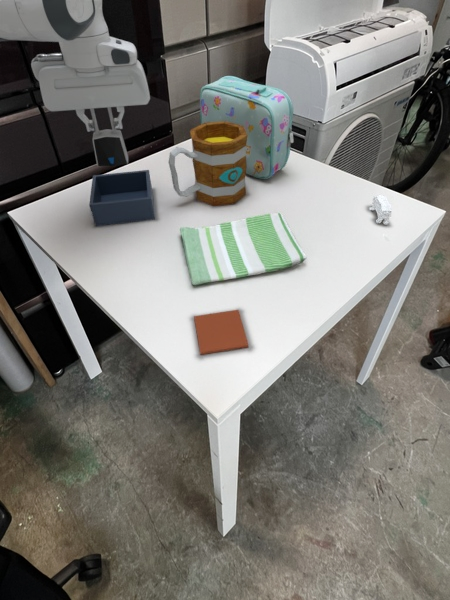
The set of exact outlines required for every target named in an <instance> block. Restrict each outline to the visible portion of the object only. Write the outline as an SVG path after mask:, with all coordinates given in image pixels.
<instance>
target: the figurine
mask: <svg viewBox="0 0 450 600" xmlns="http://www.w3.org/2000/svg"><path fill="white" fill-rule="evenodd" d="M368 209H369V211H375V212H376V213H377V219H375V223H376V224H380V223H382V224H383V225H384V226H385V225H388V224H389V222H390V218H391V217H392V207H391V203H390V202H389V201H388V199H387V196H386V195H376V196H373V199H372V206H369V208H368Z"/></svg>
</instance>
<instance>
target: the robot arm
mask: <svg viewBox="0 0 450 600" xmlns="http://www.w3.org/2000/svg"><path fill="white" fill-rule="evenodd" d="M15 41H23V42H42V43H43V42H50V43H51V42H52V43H58V44H59V47H60V52H54V53H53V52H52V53H47V54H46V53H39V54H36V56H35V57H34V58H32V60H31V63H30V65H31V70H32V73H33V75H34V77H35V79H36V80H37V81H38V83H39V88H40V95H41V98H42V102H43V105H44V107H45V108H46V109H47V110H48V111H50V112H64V111H65V112H66V111H75V113H76V116H77V117H78V118H79V119H80V121H82V122H83V124H85V127H86V131H87V132H89V133H90V132H95V127H94V123H93V119H89V118H88V116H87V115H86V114H85V111H86V110H90V109H92V108H94V109H103V108H104V109H105V108H106V109H107V107H111V108H116V113H117V112H118V116H117V117H113V119H114V125H115V129H116V130H123V129H124V128H123V126H124V125H123V121H122V120H123V118H124V115H125V112H126V111H125V110H126V108H125V107H128V106H129V107H130V106H146V105H148V104H149V103H150V100H151V95H150V93H151V92H150V88H149V84H148V79H147V76H146V73H145V70H144V69H145V68H144V67H143V64H142V63H141V62H140V61H139V60H138V51H137V48H136V46H135V44H134V43H132V42H130V41H126V40H123V39H119V38H117V37H114V36H110V33H109V28H108V25H107V22H106V20H105V17H104V13H103V0H0V42H15Z"/></svg>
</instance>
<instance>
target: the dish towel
mask: <svg viewBox="0 0 450 600" xmlns="http://www.w3.org/2000/svg"><path fill="white" fill-rule="evenodd" d="M179 233H180V234H181V239H182V244H183V249H184V254H185V258H186V264H187V268H188V272H189V276H190V281H191V285H193V286H198V285H201V284H208V283H212V282H220V281H226V280H231V279H239V278H245V277H247V276H255V275H259V274H261V275H262V274H266V273H271V272H275V271H281V270H284V269H287V268H290V267H292V266H295V265H298V264H301V263H303V262H304V261H306V260H307V255H306V254H305V252H304V250H303V249H302V247H301V245H300V244H299V242H298V240H297V238H296V237H295V235H294V233H293V231H292V229H291V228H290V226H289V224H288V223H287V220H286V218H284V216H283V214H282V213H281V212H271V213H266V214H261V215H255V216H250V217H249V216H248V217H245V218H242V219H238V220H234V221H227V222H222V223H218V224H216V225H210V226H198V227H188V226H182V227H180V228H179Z"/></svg>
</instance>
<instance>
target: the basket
mask: <svg viewBox="0 0 450 600" xmlns="http://www.w3.org/2000/svg"><path fill="white" fill-rule="evenodd" d="M88 203H89V204H88V206H89V210H90V213H91V216H92V219H93V222H94V224H95V227H103V226H110V225H111V226H112V225H119V224H126V223H127V224H128V223H135V222H136V223H137V222H145V221H152V220H156V214H155V212H156V211H155V203H154V192H153V186H152V179H151V174H150V169H143V170H133V171H124V172H123V171H122V172H113V173H103V174H94V175H92V180H91V189H90V196H89V202H88Z"/></svg>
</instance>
